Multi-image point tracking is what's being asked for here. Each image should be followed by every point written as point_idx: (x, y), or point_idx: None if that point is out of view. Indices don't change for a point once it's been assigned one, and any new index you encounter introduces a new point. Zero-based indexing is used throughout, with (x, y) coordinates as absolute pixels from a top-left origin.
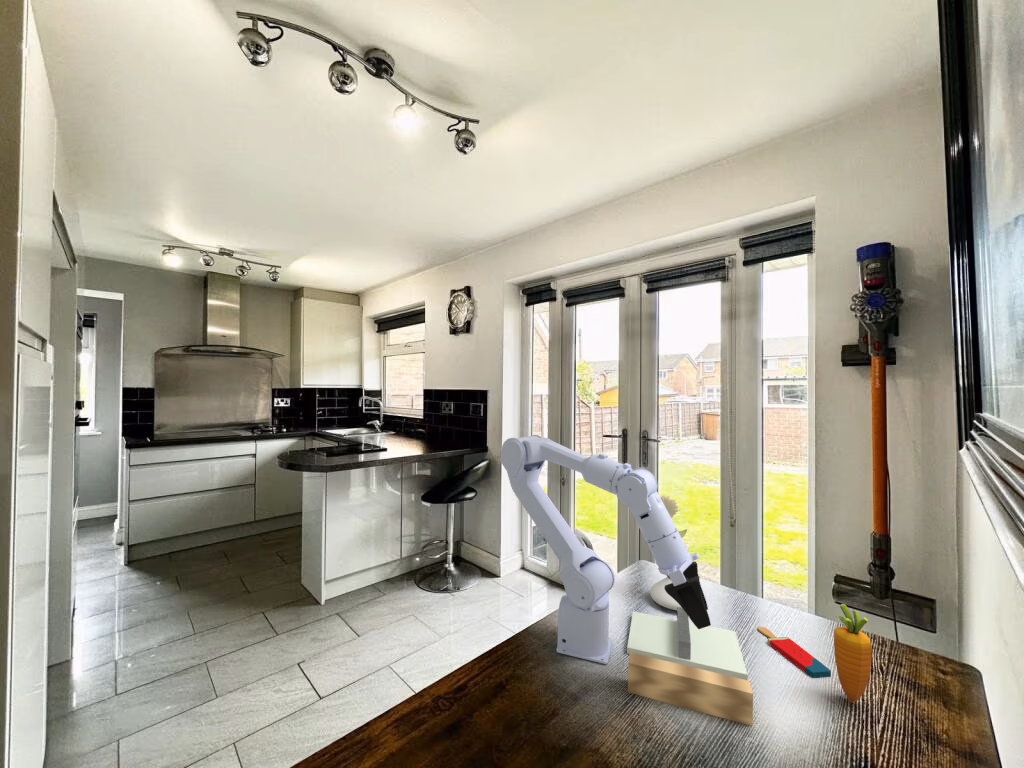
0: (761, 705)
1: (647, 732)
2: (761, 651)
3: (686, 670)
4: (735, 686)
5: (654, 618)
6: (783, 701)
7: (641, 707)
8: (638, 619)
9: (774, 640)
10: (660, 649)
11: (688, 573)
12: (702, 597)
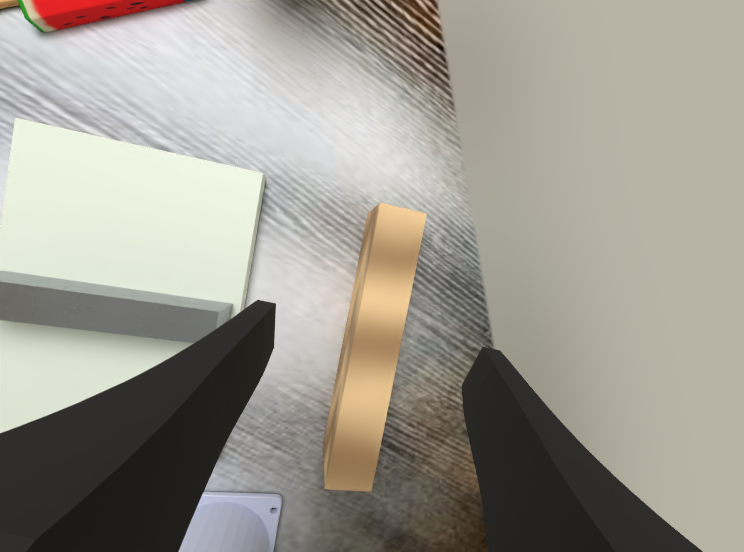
0: (343, 179)
1: (454, 412)
2: (102, 76)
3: (371, 352)
4: (410, 247)
5: (3, 377)
6: (319, 123)
7: (398, 420)
8: None
9: (36, 1)
10: None
11: (125, 536)
12: (246, 342)
